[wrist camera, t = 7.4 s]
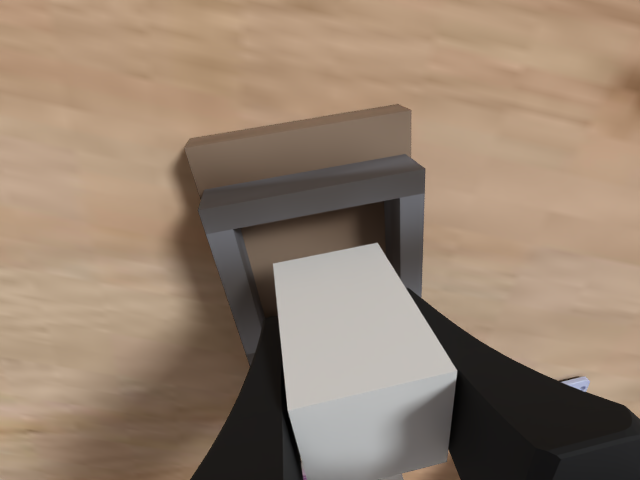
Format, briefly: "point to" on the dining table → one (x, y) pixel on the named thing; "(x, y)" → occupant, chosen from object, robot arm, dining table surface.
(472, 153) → the dining table surface
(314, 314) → the white block
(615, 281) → the dining table surface
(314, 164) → the brown board with socket
